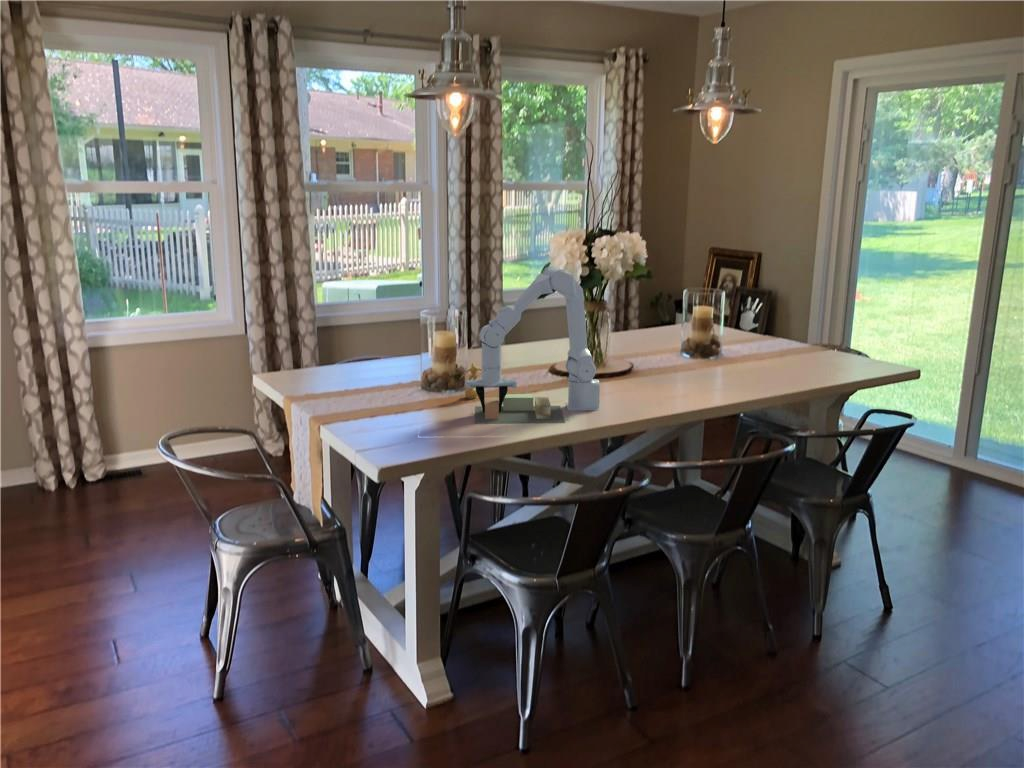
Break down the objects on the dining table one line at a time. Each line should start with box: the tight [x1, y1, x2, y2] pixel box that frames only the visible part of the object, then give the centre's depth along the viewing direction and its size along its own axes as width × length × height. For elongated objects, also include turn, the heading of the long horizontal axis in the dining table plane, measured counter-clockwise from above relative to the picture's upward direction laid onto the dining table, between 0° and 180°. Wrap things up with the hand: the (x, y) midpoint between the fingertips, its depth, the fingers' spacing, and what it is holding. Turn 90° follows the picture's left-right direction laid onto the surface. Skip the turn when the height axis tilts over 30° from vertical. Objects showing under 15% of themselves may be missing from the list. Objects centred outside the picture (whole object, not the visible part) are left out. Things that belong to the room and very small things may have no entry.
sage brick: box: [502, 393, 534, 411], centre depth 252 cm, size 9×4×4 cm, turn 92°
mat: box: [474, 405, 566, 425], centre depth 246 cm, size 26×18×1 cm
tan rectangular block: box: [484, 396, 499, 419], centre depth 246 cm, size 4×9×4 cm, turn 2°
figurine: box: [459, 363, 482, 400], centre depth 262 cm, size 8×6×12 cm
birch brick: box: [534, 396, 552, 419], centre depth 246 cm, size 4×9×4 cm, turn 2°
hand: (491, 411), depth 246 cm, fingers closed on tan rectangular block, 4 cm apart
